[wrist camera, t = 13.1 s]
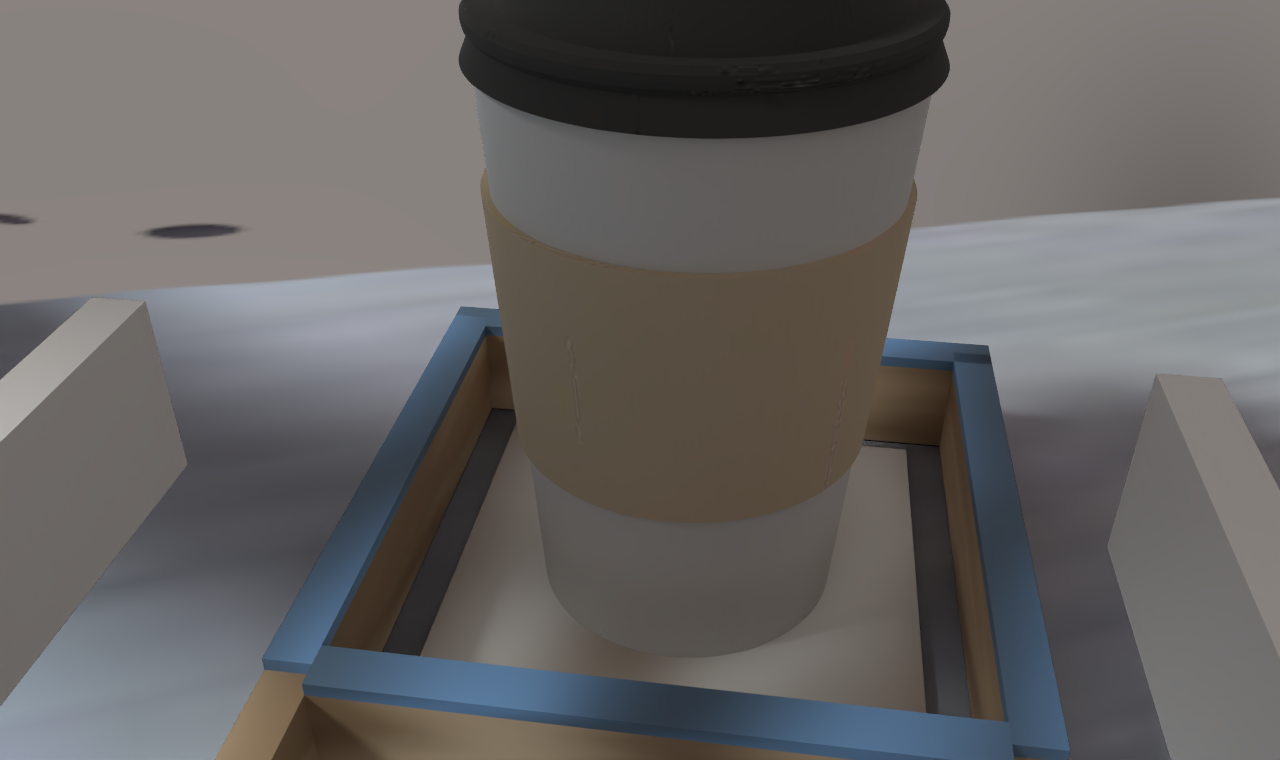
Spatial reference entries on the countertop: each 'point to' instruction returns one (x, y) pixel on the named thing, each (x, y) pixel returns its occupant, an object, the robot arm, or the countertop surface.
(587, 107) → the coffee cup
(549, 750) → the oak rack
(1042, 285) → the countertop surface
